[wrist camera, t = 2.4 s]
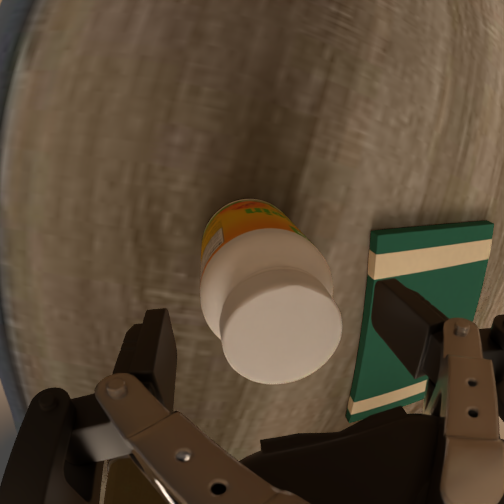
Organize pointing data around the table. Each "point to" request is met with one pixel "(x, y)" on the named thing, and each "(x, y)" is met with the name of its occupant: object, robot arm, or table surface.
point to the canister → (129, 484)
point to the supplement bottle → (267, 294)
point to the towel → (427, 285)
